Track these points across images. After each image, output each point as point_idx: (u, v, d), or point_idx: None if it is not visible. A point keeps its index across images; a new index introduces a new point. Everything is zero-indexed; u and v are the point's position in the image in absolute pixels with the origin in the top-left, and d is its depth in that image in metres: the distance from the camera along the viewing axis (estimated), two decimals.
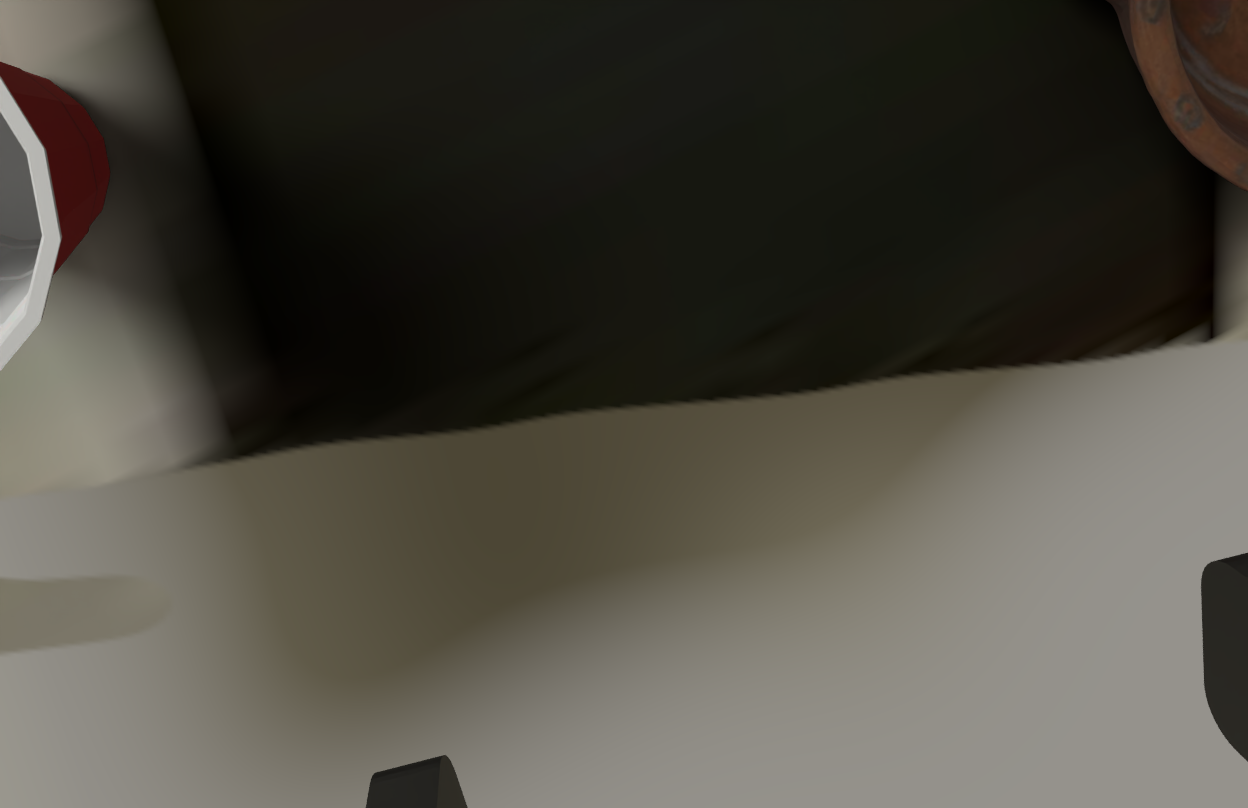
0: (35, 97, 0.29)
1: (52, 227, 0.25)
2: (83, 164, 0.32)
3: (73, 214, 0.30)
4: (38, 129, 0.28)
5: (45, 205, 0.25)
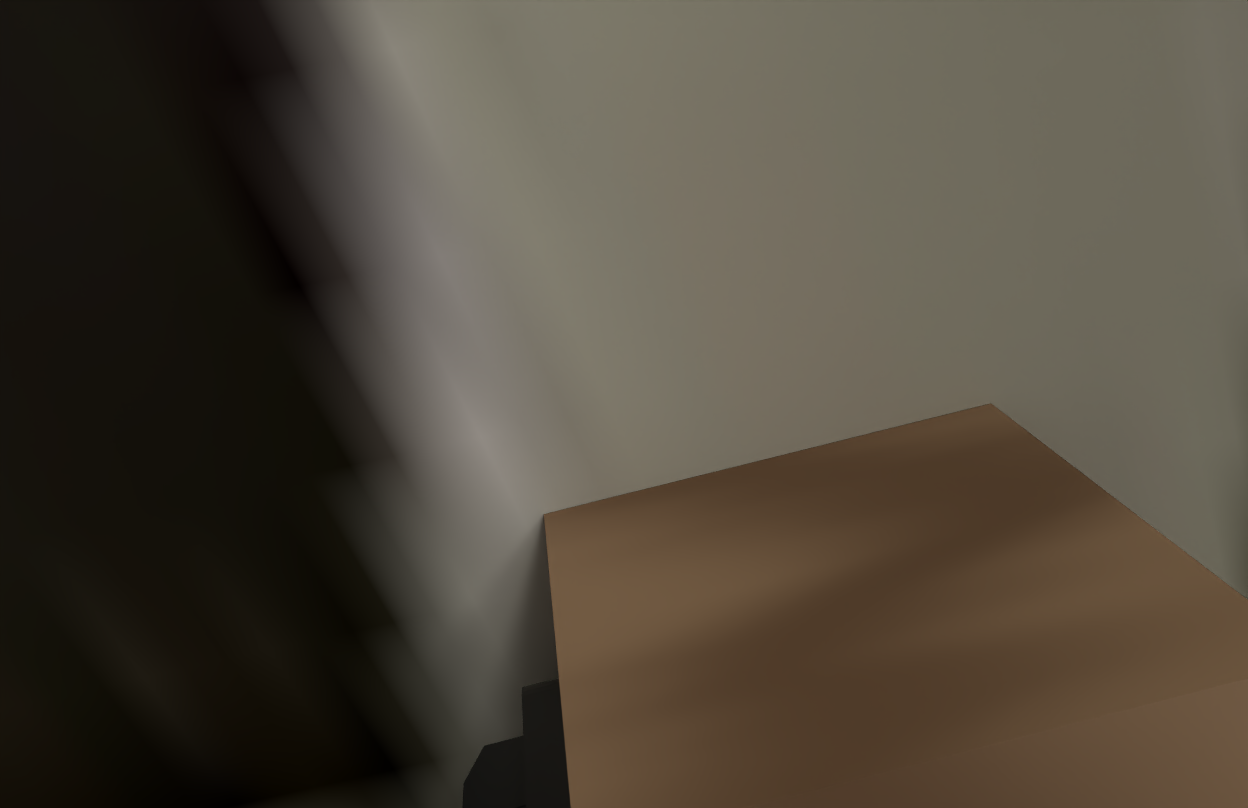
0: None
1: None
2: None
3: None
4: None
5: None
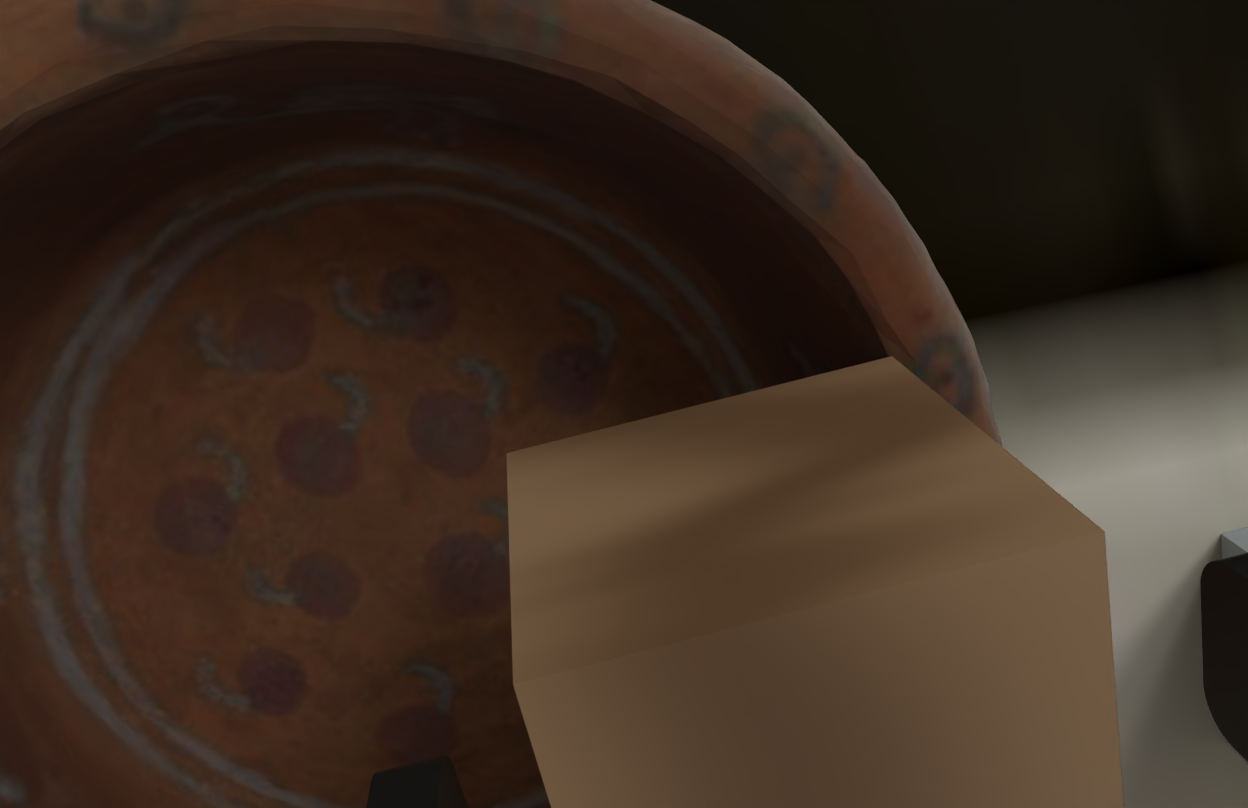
0: None
1: None
2: None
3: None
4: None
5: None
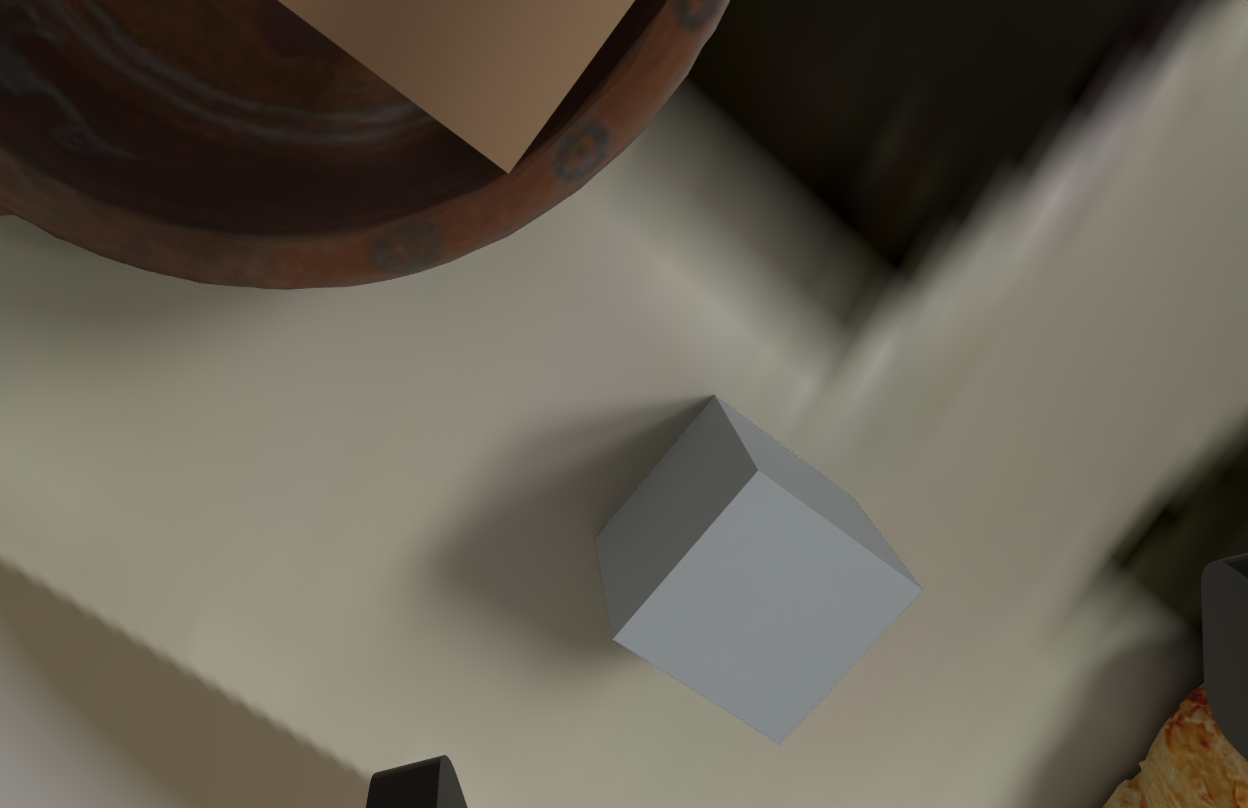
0: None
1: None
2: None
3: None
4: None
5: None
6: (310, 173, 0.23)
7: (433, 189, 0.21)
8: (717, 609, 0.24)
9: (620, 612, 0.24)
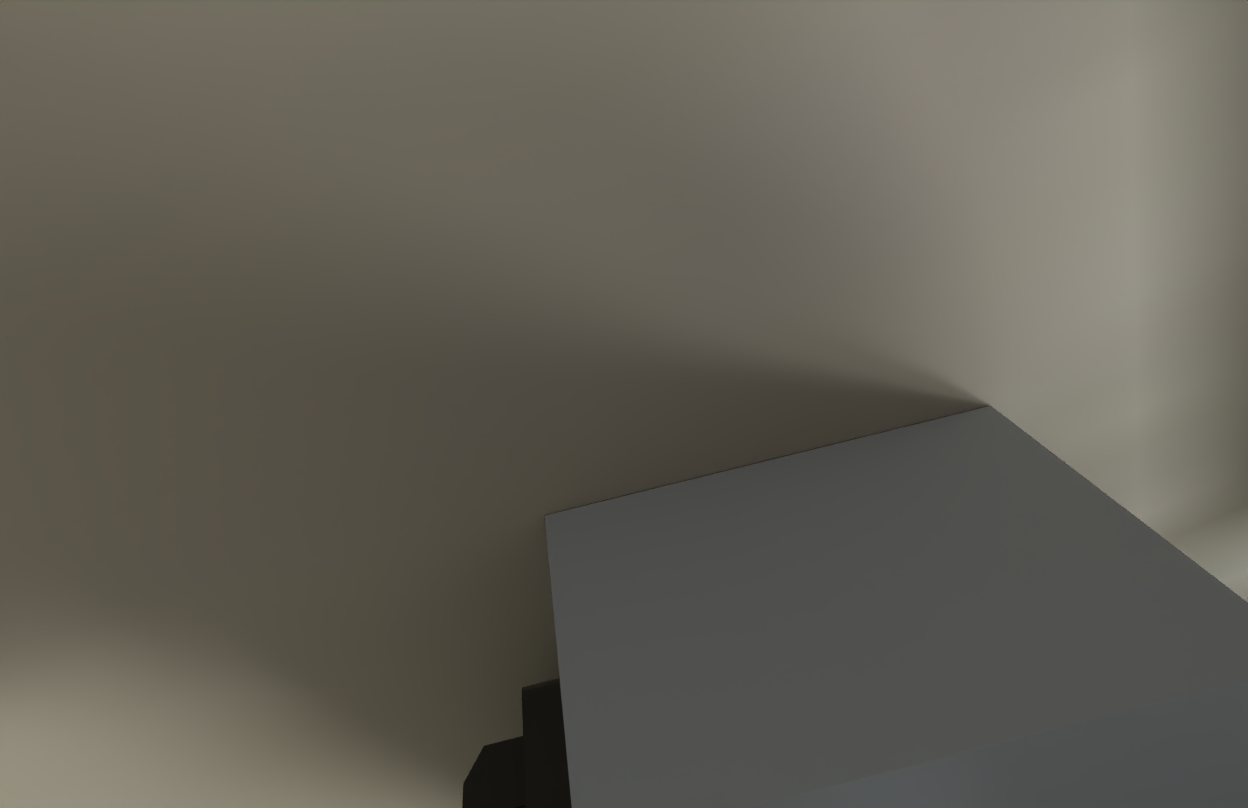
0: None
1: None
2: None
3: None
4: None
5: None
6: None
7: None
8: None
9: (621, 771, 0.07)
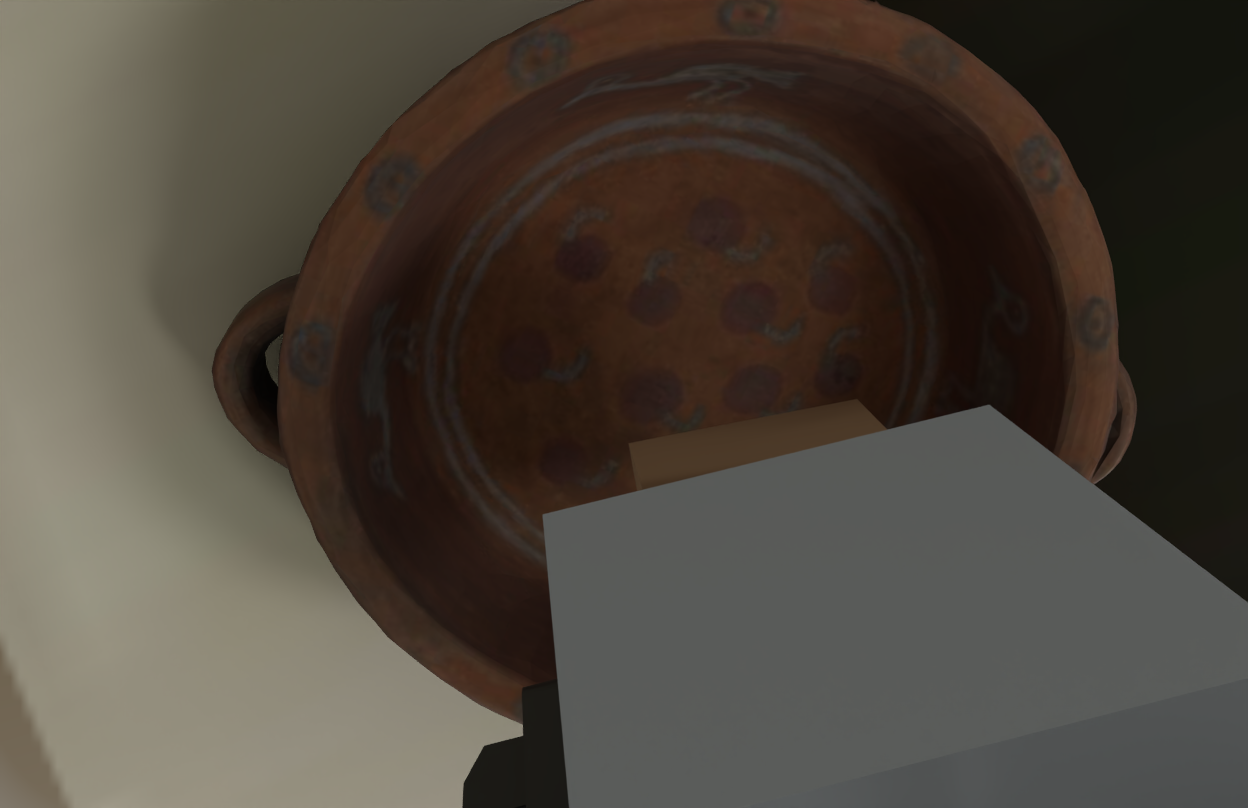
0: None
1: None
2: None
3: None
4: None
5: None
6: (500, 572, 0.27)
7: None
8: None
9: (618, 768, 0.07)
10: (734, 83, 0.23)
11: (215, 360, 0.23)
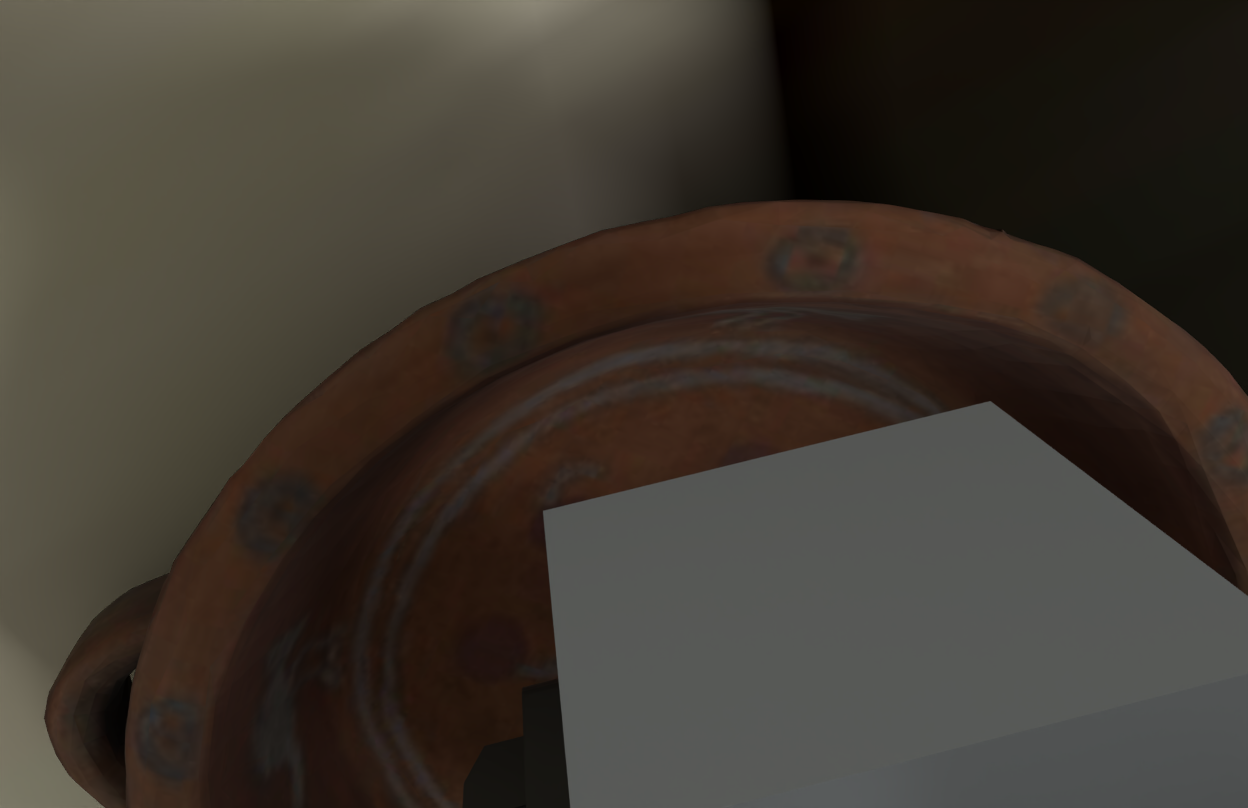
0: None
1: None
2: None
3: None
4: None
5: None
6: None
7: None
8: None
9: (619, 763, 0.07)
10: (781, 313, 0.16)
11: (47, 707, 0.16)
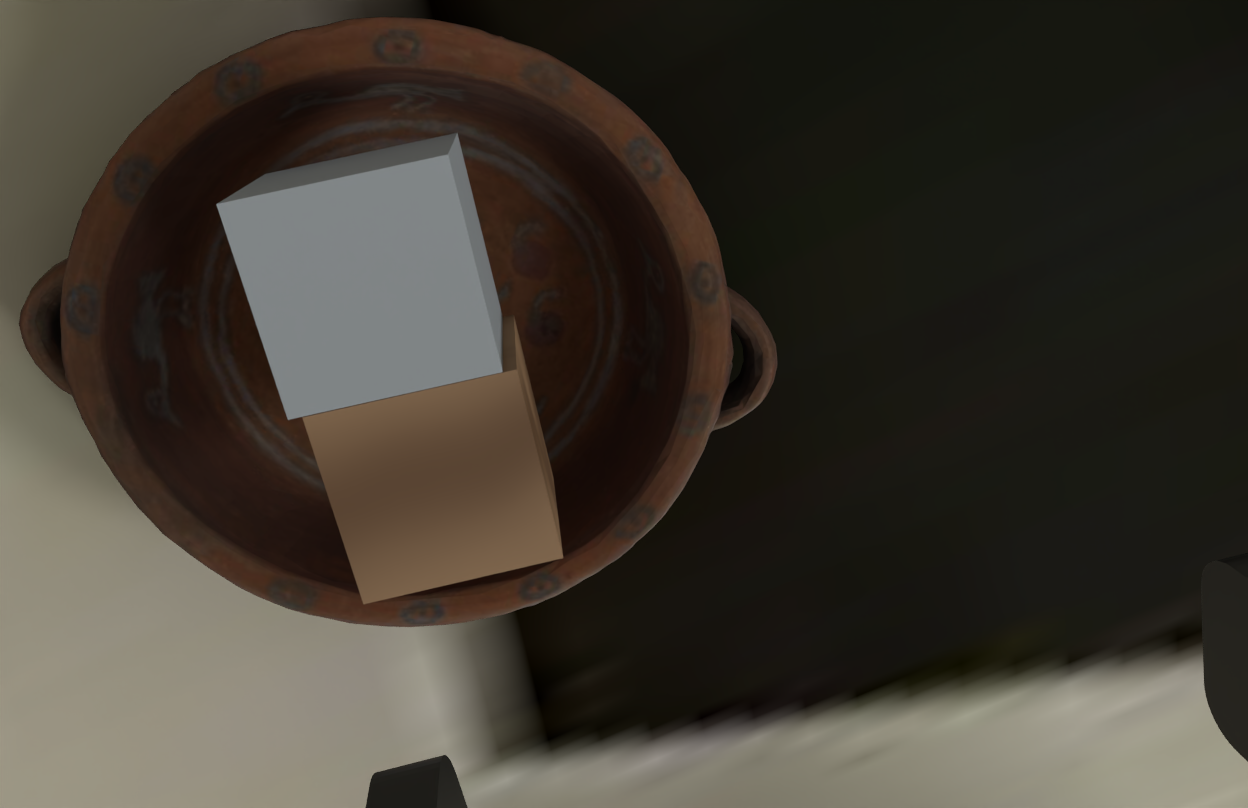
0: None
1: None
2: None
3: None
4: None
5: None
6: (270, 488, 0.33)
7: (330, 567, 0.32)
8: (325, 251, 0.23)
9: (240, 196, 0.23)
10: (421, 97, 0.29)
11: (20, 317, 0.30)
